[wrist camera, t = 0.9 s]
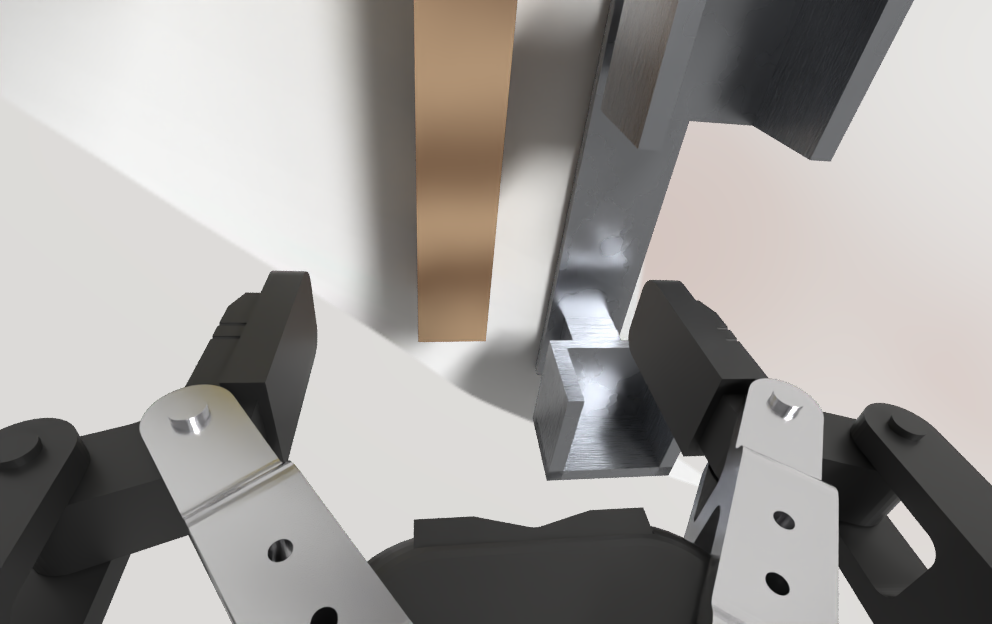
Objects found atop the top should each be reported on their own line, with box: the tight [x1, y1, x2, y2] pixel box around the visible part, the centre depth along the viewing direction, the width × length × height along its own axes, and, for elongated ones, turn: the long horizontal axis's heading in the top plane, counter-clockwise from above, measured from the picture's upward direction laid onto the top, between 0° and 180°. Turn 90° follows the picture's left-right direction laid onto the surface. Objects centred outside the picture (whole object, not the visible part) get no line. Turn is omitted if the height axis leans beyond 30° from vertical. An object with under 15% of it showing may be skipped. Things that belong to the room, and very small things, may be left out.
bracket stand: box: [533, 0, 914, 481], centre depth 24 cm, size 25×7×9 cm, turn 174°
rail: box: [414, 0, 517, 342], centre depth 22 cm, size 20×4×5 cm, turn 175°
